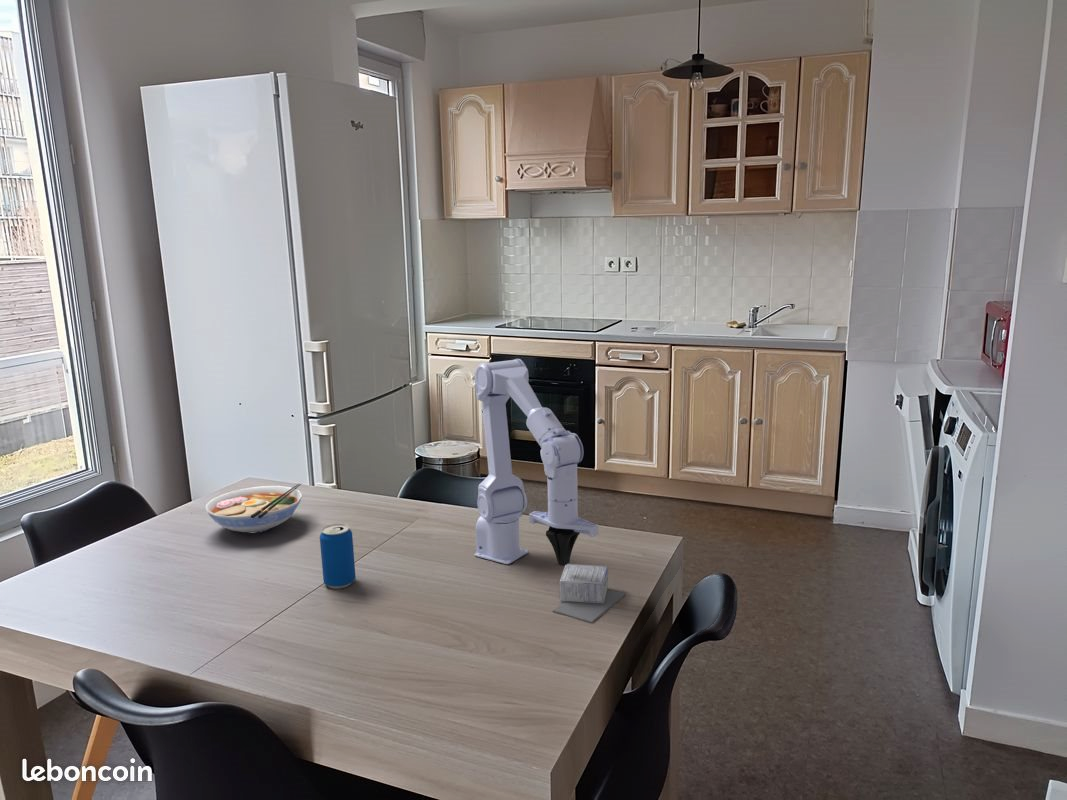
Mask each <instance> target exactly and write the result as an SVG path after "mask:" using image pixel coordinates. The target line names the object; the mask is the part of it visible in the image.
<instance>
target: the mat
mask: <svg viewBox="0 0 1067 800" xmlns="http://www.w3.org/2000/svg"><path fill="white" fill-rule="evenodd" d="M624 596H625V593H623V592H619V591H615V590H610V589H608V588H607V592H606V597H605V600H604V603H603V604H602V603H584V602H568V601H562V603H561V604H559V605H558V606H556V608H554V609H553V610H552V613H556V614H559V615H562V616H565V617H570V618H572V619H576V620H579V621H582V622H587V623H589V624H593V623H594V622H595V621H596V620H597V619H599V618H600V617H601V616H602V615H603V614H605V613H606V612H607V611H608V610H609V609H610V608H611V607H613V606H614V605H615V604H616V603H618V602H619V601H620V600H621V599H623V598H624Z"/></svg>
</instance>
